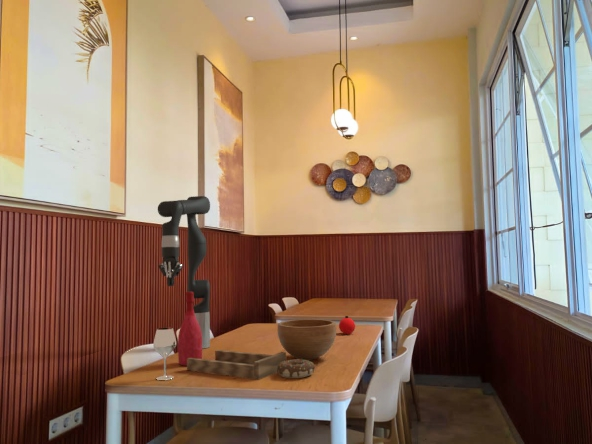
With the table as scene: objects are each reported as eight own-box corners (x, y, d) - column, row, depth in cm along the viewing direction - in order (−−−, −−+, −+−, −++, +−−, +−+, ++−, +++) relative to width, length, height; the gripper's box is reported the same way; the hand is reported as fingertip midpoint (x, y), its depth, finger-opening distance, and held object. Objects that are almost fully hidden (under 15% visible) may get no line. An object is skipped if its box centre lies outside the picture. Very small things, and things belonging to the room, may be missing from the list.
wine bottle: (196, 366, 187) (195, 292, 189) (174, 366, 189) (173, 292, 191) (206, 361, 196) (205, 290, 199) (184, 361, 198) (184, 290, 201)
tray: (187, 370, 181) (186, 354, 181) (218, 360, 197) (218, 346, 198) (258, 379, 164) (258, 362, 165) (286, 368, 181) (286, 352, 181)
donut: (302, 381, 161) (302, 367, 161) (270, 377, 168) (269, 363, 168) (322, 372, 173) (321, 359, 173) (291, 369, 180) (290, 355, 180)
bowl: (343, 354, 203) (342, 319, 205) (328, 367, 180) (327, 328, 181) (289, 352, 212) (289, 318, 213) (269, 364, 188) (268, 326, 189)
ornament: (356, 335, 252) (355, 316, 253) (339, 335, 253) (339, 317, 253) (354, 332, 261) (353, 314, 262) (338, 333, 261) (338, 315, 262)
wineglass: (156, 376, 173) (156, 327, 175) (178, 375, 174) (178, 326, 175) (151, 381, 165) (151, 330, 167) (174, 380, 166) (174, 329, 167)
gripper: (153, 246, 202) (153, 286, 201) (175, 245, 195) (175, 286, 194) (165, 246, 208) (166, 285, 207) (187, 245, 202) (188, 285, 201)
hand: (170, 286), depth 201 cm, fingers closed
